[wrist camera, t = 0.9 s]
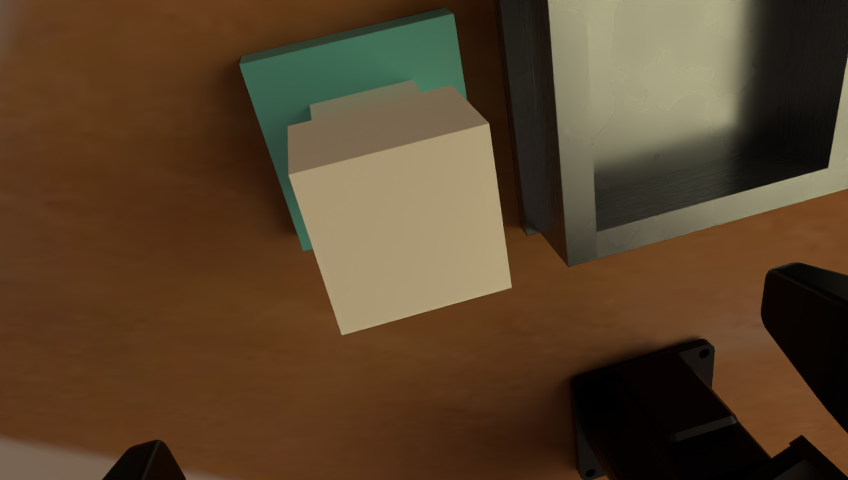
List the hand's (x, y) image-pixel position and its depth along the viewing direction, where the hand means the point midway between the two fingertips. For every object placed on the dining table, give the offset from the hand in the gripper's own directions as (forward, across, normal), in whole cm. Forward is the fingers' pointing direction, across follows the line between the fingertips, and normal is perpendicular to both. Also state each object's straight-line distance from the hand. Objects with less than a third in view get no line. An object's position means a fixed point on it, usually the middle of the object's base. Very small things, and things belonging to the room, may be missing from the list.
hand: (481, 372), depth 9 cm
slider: (+12, 0, 0) cm, 12 cm away
